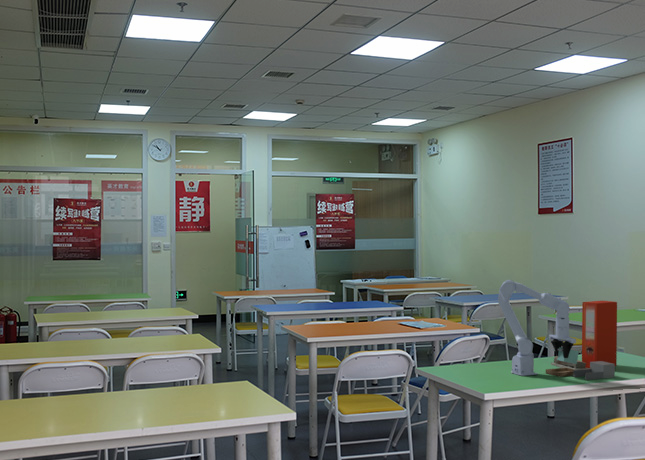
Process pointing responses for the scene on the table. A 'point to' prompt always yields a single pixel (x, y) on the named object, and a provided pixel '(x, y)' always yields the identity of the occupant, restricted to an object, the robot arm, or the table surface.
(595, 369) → the bay
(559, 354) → the tall teal block
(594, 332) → the file binder
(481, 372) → the table surface
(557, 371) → the tray
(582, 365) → the packaged product
